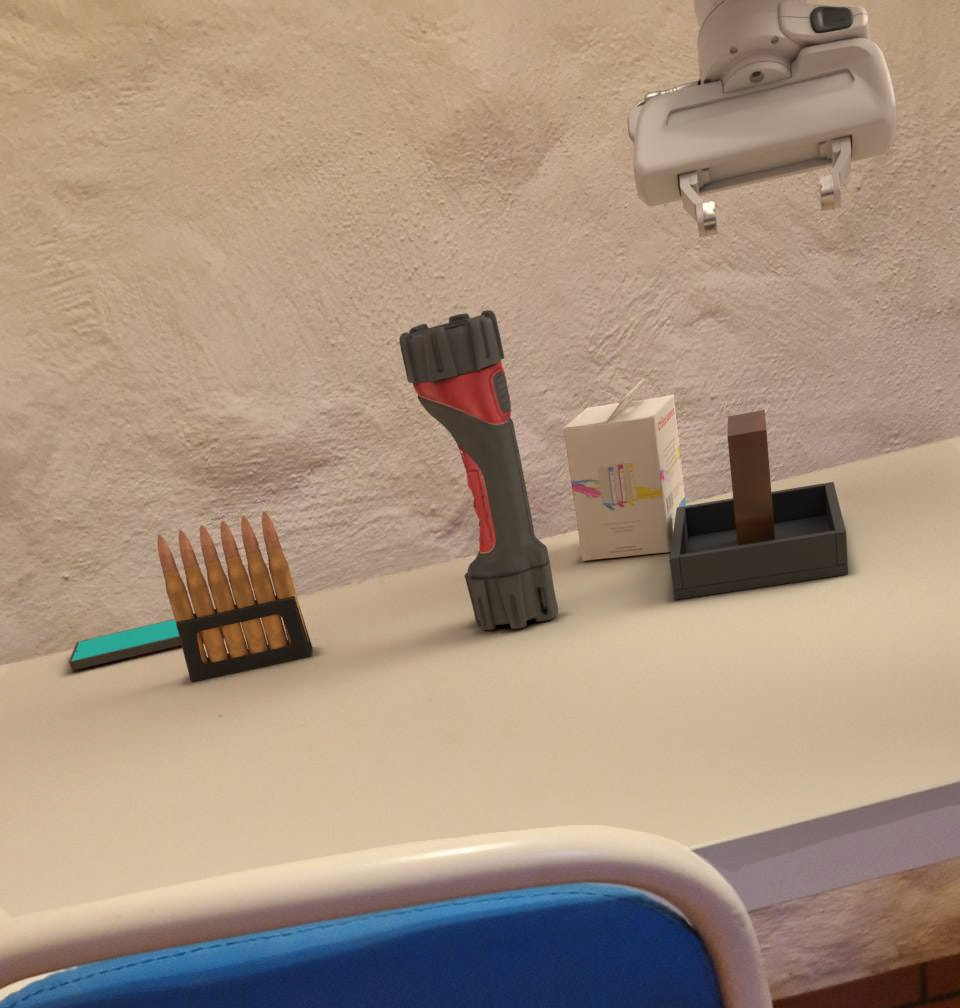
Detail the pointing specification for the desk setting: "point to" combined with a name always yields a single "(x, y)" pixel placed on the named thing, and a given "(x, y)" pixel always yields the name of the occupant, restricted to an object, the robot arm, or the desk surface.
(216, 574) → the ammunition clip
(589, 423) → the ink box
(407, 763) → the desk surface
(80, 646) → the smartphone
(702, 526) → the dark gray tray
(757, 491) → the walnut block
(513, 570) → the flashlight
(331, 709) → the desk surface
